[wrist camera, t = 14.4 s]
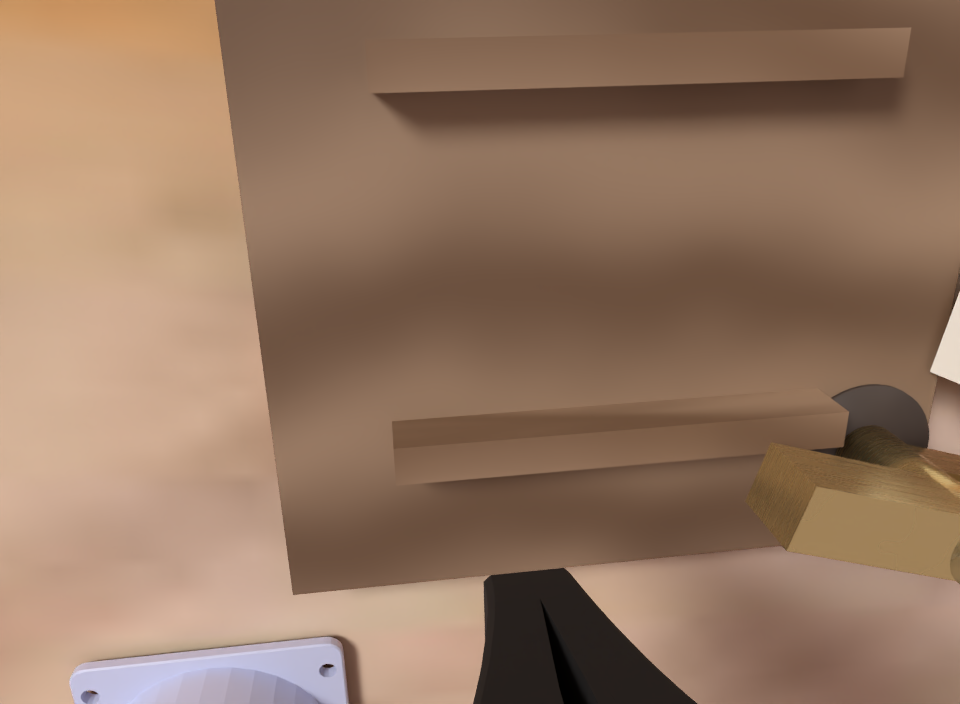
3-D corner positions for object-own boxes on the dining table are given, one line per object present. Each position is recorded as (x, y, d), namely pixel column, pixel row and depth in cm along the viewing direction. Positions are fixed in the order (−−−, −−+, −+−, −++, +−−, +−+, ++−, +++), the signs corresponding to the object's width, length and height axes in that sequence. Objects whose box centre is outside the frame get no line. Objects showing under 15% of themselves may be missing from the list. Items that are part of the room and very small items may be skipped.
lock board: (866, 497, 25) (939, 563, 22) (299, 551, 23) (287, 632, 20) (958, -14, 20) (1072, -27, 17) (229, -3, 18) (198, -15, 15)
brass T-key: (699, 451, 21) (784, 554, 17) (723, 391, 21) (818, 482, 16) (1049, 522, 24) (1203, 628, 19) (1079, 470, 23) (1244, 568, 19)
